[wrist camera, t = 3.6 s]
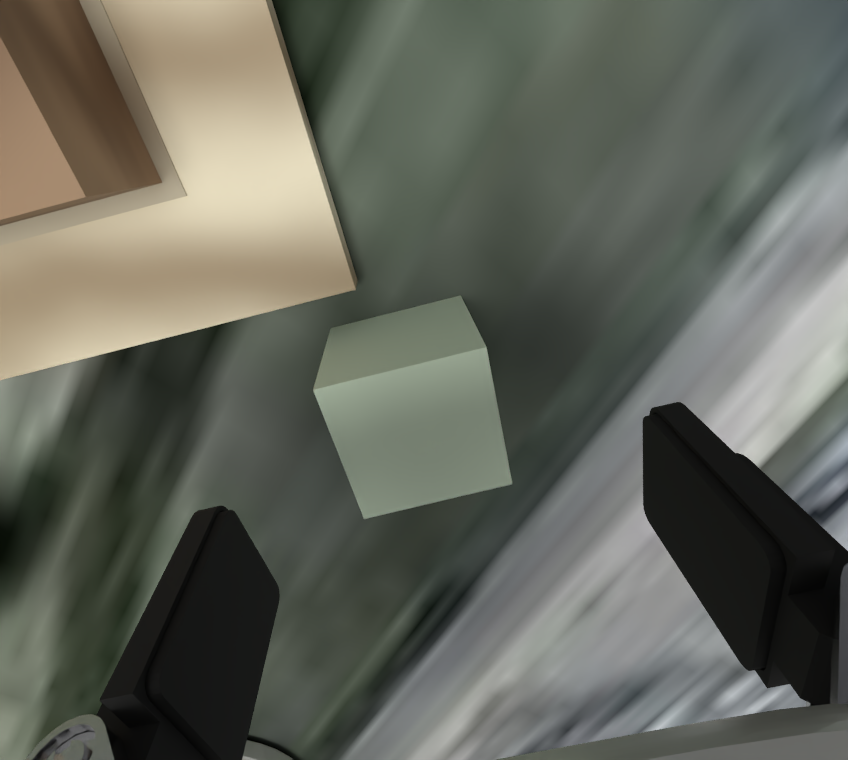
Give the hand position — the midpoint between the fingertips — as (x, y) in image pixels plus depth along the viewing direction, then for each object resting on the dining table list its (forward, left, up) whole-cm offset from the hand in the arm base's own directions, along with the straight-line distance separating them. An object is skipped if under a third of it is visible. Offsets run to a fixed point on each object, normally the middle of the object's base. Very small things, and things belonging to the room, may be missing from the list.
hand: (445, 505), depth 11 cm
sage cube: (-1, 0, -9) cm, 9 cm away
